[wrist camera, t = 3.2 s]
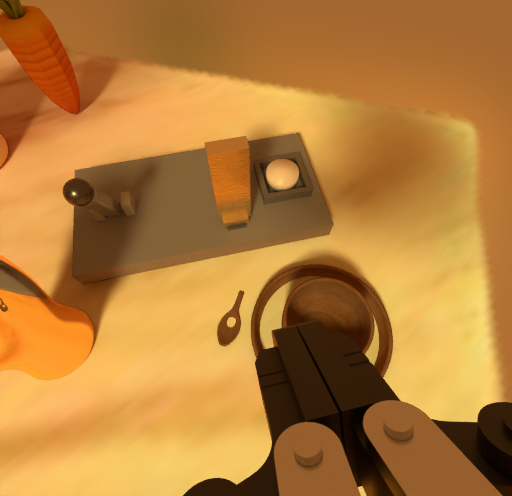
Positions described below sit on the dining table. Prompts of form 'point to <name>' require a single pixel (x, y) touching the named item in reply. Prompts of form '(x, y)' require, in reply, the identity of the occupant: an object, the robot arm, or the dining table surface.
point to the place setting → (322, 309)
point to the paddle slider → (230, 179)
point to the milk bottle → (3, 150)
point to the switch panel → (190, 212)
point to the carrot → (40, 52)
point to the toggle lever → (90, 198)
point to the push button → (282, 175)
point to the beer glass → (39, 328)
